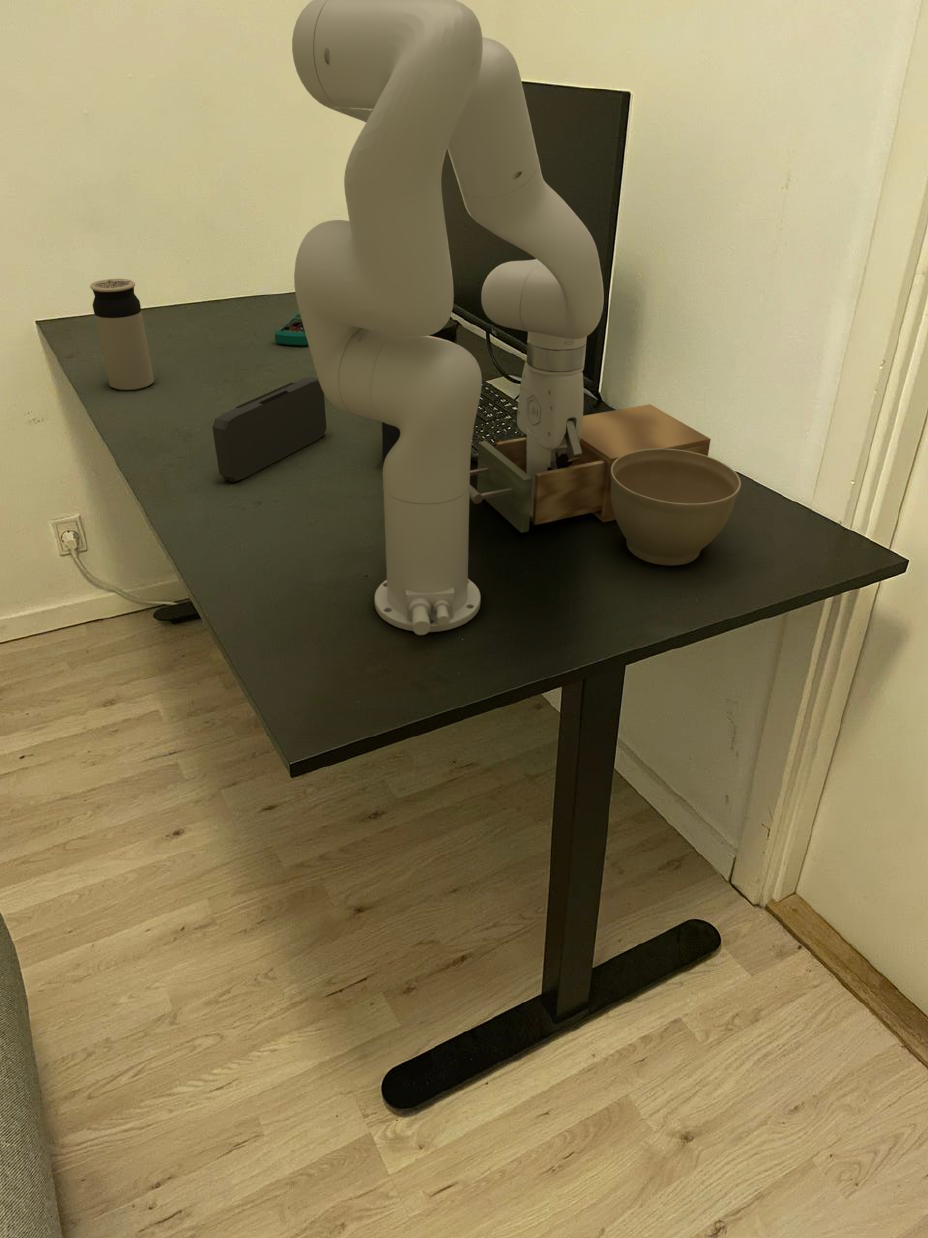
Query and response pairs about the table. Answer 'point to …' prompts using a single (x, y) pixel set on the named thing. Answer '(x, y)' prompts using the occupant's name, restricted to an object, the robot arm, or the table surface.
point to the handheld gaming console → (269, 428)
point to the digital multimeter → (292, 333)
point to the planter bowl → (671, 502)
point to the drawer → (536, 485)
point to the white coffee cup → (538, 457)
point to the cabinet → (635, 439)
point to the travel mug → (122, 334)
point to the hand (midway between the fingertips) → (546, 483)
